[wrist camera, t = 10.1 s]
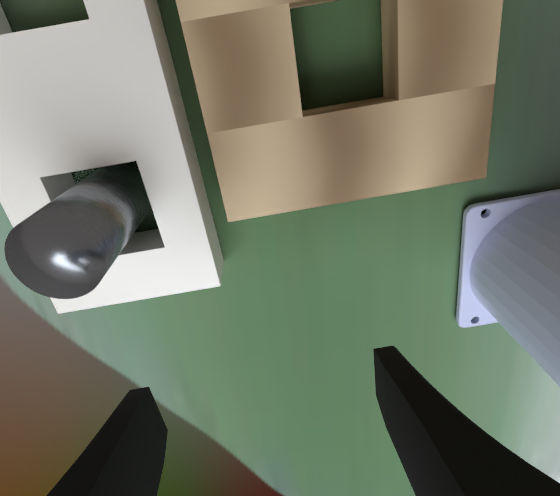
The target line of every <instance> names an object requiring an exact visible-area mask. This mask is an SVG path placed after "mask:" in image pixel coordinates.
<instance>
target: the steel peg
mask: <svg viewBox="0 0 560 496" xmlns="http://www.w3.org/2000/svg"><path fill="white" fill-rule="evenodd" d="M150 209H151V204H150V201H149V198H148V195H147V192H146V189H145V186H144V183H143V180H142V177H141V174H140V171H139V169H137V168H136V167H134V166H132V165H129V164H126V163H121V164H115V165H109V166H104V167H100V168H98V169H97V170H95V171H94V172H93V173H91V174H90V175H88V176H87V177H85V178H84V179H83V180H81V181H80V182H78V183H77V184H75V185H74V186H72V187H71V188H70V189H68V190H67V191H65V192H64V193H62V194H61V195H59V196H58V197H57V198H55V199H54V200H52V201H51V202H49V203H48V204H46V205H45V206H44V207H42V208H41V209H39V210H38V211H36V212H35V213H34V214H32V215H31V216H29V217H28V218H26V219H25V220H23V221H22V222H21V223H19V224H18V225H16V226H15V227H14V228H13V229H12V230H11V231H10V233H9V234H8V237H7V239H6V242H5V256H6V260H7V263H8V265H9V267H10V269H11V271H12V272H13V274H14V275H15V276H16V277H17V278H18V279H19V281H21V282H22V283H23V284H24V285H25V286H27V287H28V288H30V289H31V290H33V291H35V292H37V293H39V294H41V295H44V296H47V297H51V298H57V299H73V298H78V297H81V296H84V295H86V294H88V293H90V292H91V291H92V290H94V289H95V288H96V287H97V285H98V284H99V283H100V281H101V280H102V279H103V277H104V276H105V274H106V273H107V271H108V270H109V268H110V267H111V265H112V264H113V263H114V261H115V260H116V258H117V257H118V255H119V254H120V252H121V251H122V249H123V248H124V247H125V245H126V244H127V242H128V241H129V239H130V238H131V236H132V235H133V233H134V232H135V231H136V229H137V228H138V226H139V225H140V223H141V222H142V220H143V219H144V217H145V216H146V215H147V213H148V212H149V210H150Z"/></svg>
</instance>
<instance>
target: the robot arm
mask: <svg viewBox="0 0 560 496" xmlns="http://www.w3.org/2000/svg"><path fill="white" fill-rule="evenodd" d="M484 209H486V212H485V213H484V214H483V215H481V212H482V211H483V210H484ZM473 317H475V318H474V319H472V318H473ZM471 319H472V320H471ZM456 322H457V323H458V325H459V326H460V327H462V328H467V327H472V326H478V325H484V324H490V323H496V322H499V323H500V324H501V325H502V326H503V327H504V329H505V330H506V331H507V332H508V333H509V334H510V335H511V336H512V337H513V338H514V339H515V340H516V341H517V342H518V343H519V344H520V345H521V346H522V347H523V348H524V350H525V351H526V352H527V353H528V354H529V355H530V356H531V357H532V358H533V359H534V360H535V361H536V362H537V363H538V364H539V365H540V366H541V367H542V368H543V369H544V371H545V372H546V373H547V374H548V375H549V376H550V377H551V378H552V379H553V380H554V381H555V382H556V383H557V384H558V385H559V386H560V189H557V190H551V191H545V192H540V193H534V194H528V195H522V196H516V197H510V198H505V199H499V200H493V201H487V202H481V203H475V204H472V205H469V206H468V207H467V208H466V209H465V210H464V213H463V225H462V240H461V254H460V268H459V282H458V296H457V311H456ZM374 366H375V384H376V396H377V400H378V403H379V406H380V409H381V413H382V416H383V419H384V422H385V425H386V428H387V430H388V433H389V435H390V437H391V440H392V442H393V444H394V447H395V449H396V451H397V453H398V456H399V458H400V460H401V463H402V465H403V467H404V470H405V472H406V474H407V476H408V479H409V481H410V483H411V486H412V488H413V490H414V493H415V495H416V496H560V483H558V482H557V481H555V480H554V479H552V478H551V477H549V476H547V475H546V474H544V473H543V472H541V471H540V470H538V469H537V468H535V467H533V466H532V465H530V464H529V463H527V462H526V461H524V460H523V459H522V458H520V457H519V456H517V455H516V454H514V453H513V452H512V451H510V450H509V449H507V448H506V447H505V446H503V445H502V444H501V443H499V442H498V441H497V440H495V439H494V438H493V437H491V436H490V435H489V434H487V433H486V432H485V431H484V430H482V429H481V428H480V427H478V426H477V425H476V424H475V423H474V422H472V421H471V420H470V419H469V418H468V417H466V416H465V415H464V414H463V413H462V412H461V411H459V410H458V409H457V408H456V407H455V406H454V405H452V404H451V403H450V402H449V401H448V400H447V399H446V398H445V397H444V396H443V395H442V394H440V393H439V392H438V391H437V390H436V389H435V388H434V387H433V386H432V385H431V384H430V383H429V382H428V381H427V380H426V379H425V378H424V377H423V376H422V375H421V374H420V373H419V372H418V371H417V370H416V369H415V368H414V367H413V366H412V365H411V364H410V363H409V362H408V361H407V360H406V359H405V357H404V356H403V355H402V354H401V353H400V352H399V351H398V350H397V348H395V347H394V346H388V347H382V348H376V349H374ZM167 431H168V430H167V428H166V425H165V423H164V421H163V418H162V416H161V414H160V411H159V409H158V407H157V404H156V402H155V400H154V398H153V395H152V393H151V391H150V388H149V387H145V388H139V389H133V390H130V391H129V392H128V393H127V395H126V396H125V397H124V399H123V400H122V401H121V403H120V404H119V405H118V406H117V408H116V409H115V411H114V412H113V413H112V415H111V416H110V417H109V419H108V420H107V421H106V423H105V424H104V425H103V427H102V428H101V429H100V431H99V432H98V433H97V435H96V436H95V437H94V438H93V440H92V441H91V442H90V444H89V445H88V446H87V448H86V449H85V450H84V451H83V453H82V454H81V455H80V456H79V458H78V459H77V460H76V462H75V463H74V464H73V465H72V466H71V467H70V469H69V470H68V471H67V472H66V473H65V475H64V476H63V477H62V478H61V480H60V481H59V482H58V483H57V484H56V485H55V487H54V488H53V489H52V490H51V491H50V492H49V494H48V495H47V496H156V495H157V491H158V487H159V482H160V478H161V474H162V469H163V464H164V457H165V450H166V440H167Z"/></svg>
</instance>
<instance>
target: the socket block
mask: <svg viewBox="0 0 560 496" xmlns="http://www.w3.org/2000/svg"><path fill="white" fill-rule="evenodd" d="M333 1H338V0H176V4H177V8H178V13H179V17H180V21H181V25H182V30H183V34H184V38H185V42H186V46H187V51H188V55H189V59H190V63H191V68H192V72H193V76H194V80H195V85H196V89H197V93H198V97H199V101H200V106H201V110H202V114H203V118H204V123H205V127H206V131H207V135H208V139H209V144H210V148H211V152H212V156H213V161H214V165H215V169H216V173H217V177H218V182H219V186H220V190H221V194H222V199H223V203H224V207H225V211H226V215H227V220H228V222H232V221H237V220H243V219H249V218H255V217H261V216H267V215H272V214H278V213H284V212H290V211H296V210H302V209H307V208H313V207H319V206H325V205H331V204H336V203H342V202H348V201H354V200H360V199H366V198H371V197H377V196H383V195H389V194H395V193H401V192H406V191H412V190H418V189H424V188H430V187H436V186H441V185H447V184H453V183H459V182H465V181H470V180H476V179H482V178H486V174H487V164H488V153H489V143H490V132H491V122H492V112H493V101H494V91H495V80H496V70H497V59H498V49H499V38H500V28H501V17H502V7H503V0H381V29H382V64H383V97H378V98H372V99H366V100H360V101H354V102H349V103H343V104H337V105H331V106H326V107H320V108H314V109H308V110H303V111H302V107H301V98H300V90H299V82H298V74H297V66H296V57H295V49H294V41H293V33H292V25H291V16H290V9H293V8H298V7H304V6H310V5H316V4H321V3H327V2H333Z"/></svg>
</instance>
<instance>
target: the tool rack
mask: <svg viewBox="0 0 560 496" xmlns="http://www.w3.org/2000/svg"><path fill="white" fill-rule="evenodd" d="M83 1H84V4H85V7H86V10H87V13H88V16H89V19H87V20H81V21H76V22H70V23H64V24H59V25H53V26H47V27H42V28H36V29H30V30H25V31H19V32H12V30H11V27H10V25H9V23H8V20H7V18H6V15H5V13H4V11H3V8H2V6H1V3H0V203H1V205H2V206H3V208H4V210H5V212H6V214H7V216H8V218H9V220H10V222H11V224H12V226H13V228H14V227H15V226H16V225H18V224H19V223H21V222H22V221H23V220H25V219H26V218H28V217H29V216H31V215H32V214H34V213H35V212H36V211H38V210H39V209H41V208H42V207H44V206H45V205H46V204H48V203H49V202H51V201H52V200H54V199H55V198H57V197H58V196H59V195H61V194H62V193H64V192H65V191H67V190H68V189H70V188H71V187H72V186H74V185H75V181H74V179H73V177H72V174H71V172H75V171H81V170H86V169H92V168H98V167H104V166H109V165H115V164H121V163H127V162H133V161H136V162H137V165H138V168H139V171H140V174H141V177H142V180H143V183H144V186H145V189H146V192H147V195H148V198H149V201H150V204H151V207H152V210H153V213H154V216H155V219H156V222H157V225H158V228H159V229H155V230H149V231H143V232H137V233H133V235H132V236H131V238H130V239H129V241H128V242H127V244H126V245H125V247H124V248H123V249H122V251H121V252H120V254H119V255H118V257H117V258H116V260H115V261H114V263H113V264H112V265H111V267H110V268H109V270H108V271H107V273H106V274H105V276H104V277H103V279H102V280H101V281H100V283H99V284H98V285H97V287H96V288H95V289H94V290H92V291H91V292H90V293H88V294H86V295H84V296H81V297H78V298H73V299H57V298H51V297H50V298H51V300H52V302H53V304H54V306H55V308H56V310H57V312H58V314H59V313H65V312H71V311H77V310H83V309H89V308H95V307H100V306H106V305H112V304H118V303H124V302H130V301H136V300H141V299H147V298H153V297H159V296H165V295H171V294H177V293H183V292H188V291H194V290H200V289H206V288H212V287H218V286H221V279H222V272H223V264H224V260H223V256H222V252H221V248H220V244H219V240H218V237H217V233H216V229H215V225H214V221H213V217H212V213H211V209H210V205H209V201H208V197H207V193H206V190H205V186H204V182H203V178H202V174H201V170H200V166H199V162H198V158H197V154H196V150H195V146H194V143H193V139H192V135H191V131H190V127H189V123H188V119H187V115H186V111H185V107H184V103H183V99H182V96H181V92H180V88H179V84H178V80H177V76H176V72H175V68H174V64H173V60H172V56H171V52H170V49H169V45H168V41H167V37H166V33H165V29H164V25H163V21H162V17H161V13H160V9H159V6H158V2H157V0H83Z"/></svg>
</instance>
